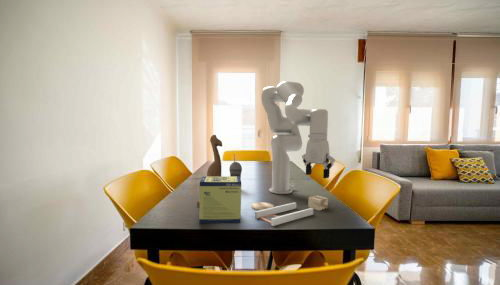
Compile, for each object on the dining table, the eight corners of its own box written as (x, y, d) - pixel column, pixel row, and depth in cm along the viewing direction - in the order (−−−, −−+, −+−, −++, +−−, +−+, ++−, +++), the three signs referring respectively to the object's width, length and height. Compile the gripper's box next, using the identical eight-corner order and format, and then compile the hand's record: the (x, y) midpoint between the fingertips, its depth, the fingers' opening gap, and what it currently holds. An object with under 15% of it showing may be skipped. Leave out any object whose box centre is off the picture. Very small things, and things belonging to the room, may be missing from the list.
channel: (294, 207, 114) (294, 202, 114) (313, 214, 106) (313, 208, 106) (255, 217, 101) (255, 211, 101) (272, 226, 93) (273, 219, 92)
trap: (272, 214, 105) (272, 213, 105) (286, 220, 99) (286, 219, 98) (259, 218, 100) (259, 217, 100) (272, 224, 94) (272, 223, 94)
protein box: (241, 223, 95) (241, 181, 94) (198, 223, 94) (198, 181, 93) (239, 213, 106) (240, 176, 105) (201, 214, 104) (201, 176, 103)
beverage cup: (237, 191, 142) (237, 155, 140) (226, 189, 145) (226, 154, 144) (244, 188, 148) (244, 154, 146) (233, 187, 152) (234, 153, 150)
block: (316, 205, 119) (317, 195, 119) (327, 208, 115) (328, 198, 114) (308, 207, 116) (308, 197, 116) (319, 210, 111) (319, 200, 111)
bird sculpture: (221, 209, 111) (224, 135, 109) (196, 206, 113) (198, 134, 112) (228, 202, 122) (231, 135, 120) (205, 200, 124) (208, 133, 123)
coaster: (264, 202, 122) (264, 201, 121) (278, 207, 114) (278, 206, 113) (246, 206, 116) (246, 204, 116) (260, 212, 108) (261, 210, 108)
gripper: (297, 136, 118) (296, 173, 119) (329, 138, 104) (328, 180, 105) (308, 136, 122) (307, 172, 123) (340, 138, 108) (339, 178, 109)
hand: (317, 176), depth 114 cm, fingers open, 9 cm apart
